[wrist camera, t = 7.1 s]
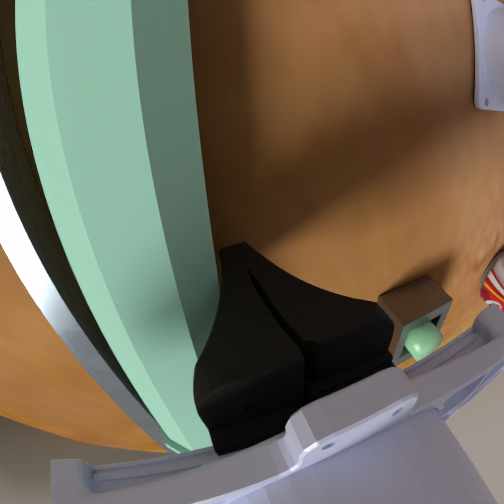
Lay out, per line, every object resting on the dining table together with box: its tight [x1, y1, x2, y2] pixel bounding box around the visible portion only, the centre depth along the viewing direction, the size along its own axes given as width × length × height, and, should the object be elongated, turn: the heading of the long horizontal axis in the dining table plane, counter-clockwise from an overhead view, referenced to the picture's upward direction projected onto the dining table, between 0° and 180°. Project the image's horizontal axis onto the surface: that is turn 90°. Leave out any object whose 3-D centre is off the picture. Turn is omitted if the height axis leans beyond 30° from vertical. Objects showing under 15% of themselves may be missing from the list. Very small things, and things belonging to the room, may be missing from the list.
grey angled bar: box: [0, 43, 178, 455], centre depth 12 cm, size 7×32×2 cm, turn 8°
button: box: [405, 321, 443, 361], centre depth 20 cm, size 3×3×3 cm
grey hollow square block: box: [377, 275, 453, 366], centre depth 20 cm, size 5×5×3 cm
